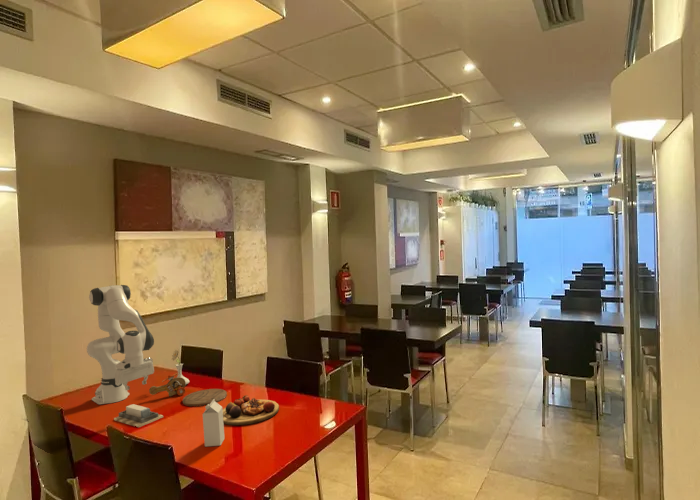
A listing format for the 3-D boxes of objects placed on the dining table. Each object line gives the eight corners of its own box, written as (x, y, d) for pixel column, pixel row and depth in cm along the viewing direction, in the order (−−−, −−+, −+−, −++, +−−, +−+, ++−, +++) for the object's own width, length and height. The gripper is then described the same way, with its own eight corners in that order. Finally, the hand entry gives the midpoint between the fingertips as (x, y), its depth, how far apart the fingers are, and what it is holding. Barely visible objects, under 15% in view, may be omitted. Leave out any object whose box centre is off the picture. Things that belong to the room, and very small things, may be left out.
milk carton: (224, 438, 200) (221, 398, 200) (220, 445, 193) (217, 403, 192) (209, 439, 200) (206, 399, 199) (204, 447, 192) (201, 405, 192)
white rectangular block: (126, 415, 234) (125, 406, 234) (133, 413, 237) (133, 404, 237) (143, 420, 225) (142, 411, 225) (150, 417, 229) (149, 408, 229)
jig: (113, 420, 232) (113, 414, 231) (138, 410, 243) (138, 405, 243) (138, 427, 219) (138, 421, 219) (163, 417, 231) (162, 411, 231)
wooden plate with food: (291, 408, 233) (290, 393, 233) (246, 430, 207) (245, 413, 207) (251, 400, 251) (250, 386, 251) (205, 420, 225) (204, 404, 225)
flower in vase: (172, 384, 289) (169, 347, 289) (190, 381, 293) (187, 345, 292) (170, 390, 277) (167, 351, 276) (189, 387, 280) (186, 349, 280)
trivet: (233, 391, 268) (232, 388, 268) (216, 406, 243) (216, 403, 243) (194, 392, 270) (194, 389, 270) (174, 407, 245) (174, 404, 245)
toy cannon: (187, 394, 266) (185, 372, 266) (150, 402, 255) (149, 379, 255) (184, 390, 273) (183, 369, 273) (149, 399, 262) (147, 376, 262)
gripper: (148, 355, 241) (150, 380, 242) (112, 366, 224) (114, 392, 224) (155, 357, 238) (157, 381, 238) (119, 367, 221) (121, 394, 221)
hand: (136, 387), depth 231 cm, fingers open, 8 cm apart
